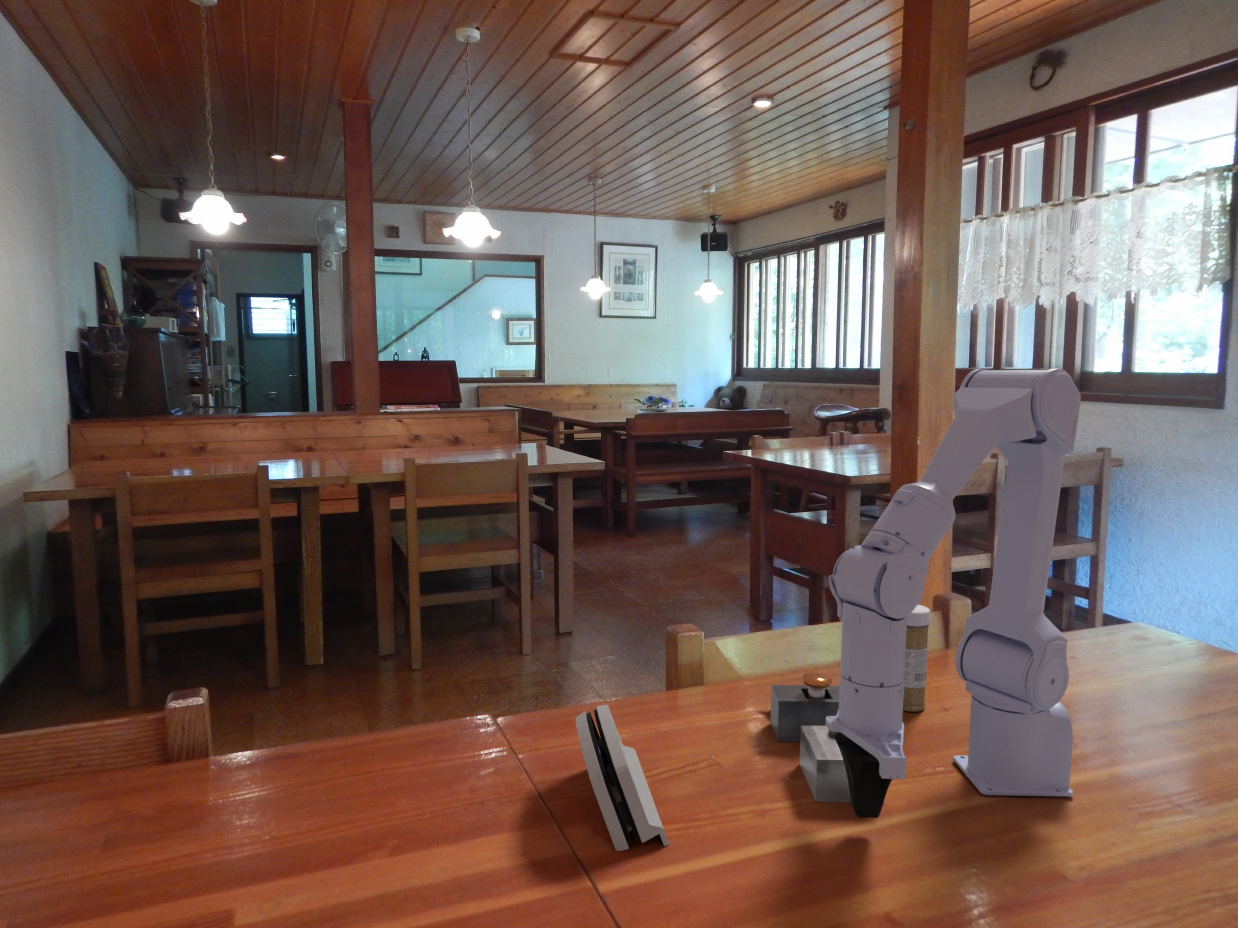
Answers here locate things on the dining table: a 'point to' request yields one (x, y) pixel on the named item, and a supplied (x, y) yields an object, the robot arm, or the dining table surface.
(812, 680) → the pin
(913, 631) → the sprinkles bottle
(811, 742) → the block
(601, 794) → the grey slotted block
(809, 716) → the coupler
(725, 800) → the dining table surface
